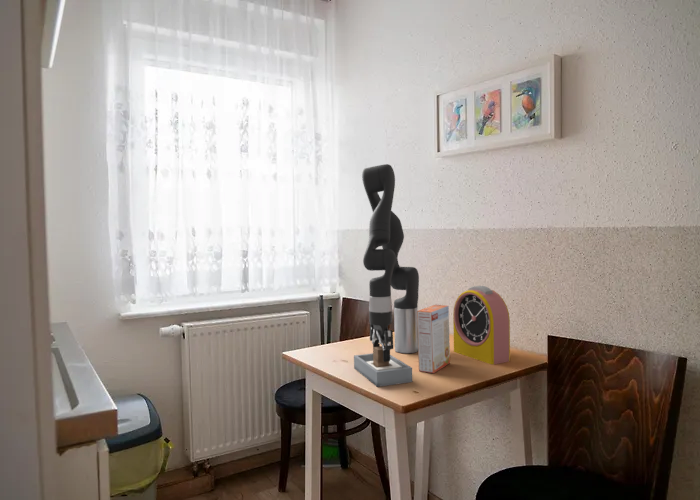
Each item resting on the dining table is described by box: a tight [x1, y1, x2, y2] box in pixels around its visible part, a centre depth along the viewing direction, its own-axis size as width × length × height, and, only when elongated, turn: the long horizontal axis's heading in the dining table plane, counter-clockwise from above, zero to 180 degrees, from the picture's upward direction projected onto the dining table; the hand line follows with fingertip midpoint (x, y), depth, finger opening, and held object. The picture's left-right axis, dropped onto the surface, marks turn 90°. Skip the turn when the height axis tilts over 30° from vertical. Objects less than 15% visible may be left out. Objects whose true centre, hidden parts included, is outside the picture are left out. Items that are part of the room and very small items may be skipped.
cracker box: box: [417, 304, 451, 374], centre depth 163 cm, size 14×6×21 cm, turn 145°
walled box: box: [353, 352, 413, 388], centre depth 156 cm, size 12×21×4 cm, turn 19°
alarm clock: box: [452, 285, 511, 365], centre depth 176 cm, size 21×9×26 cm, turn 27°
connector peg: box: [372, 345, 389, 368], centre depth 156 cm, size 4×4×8 cm
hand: (381, 358), depth 156 cm, fingers open, 8 cm apart
